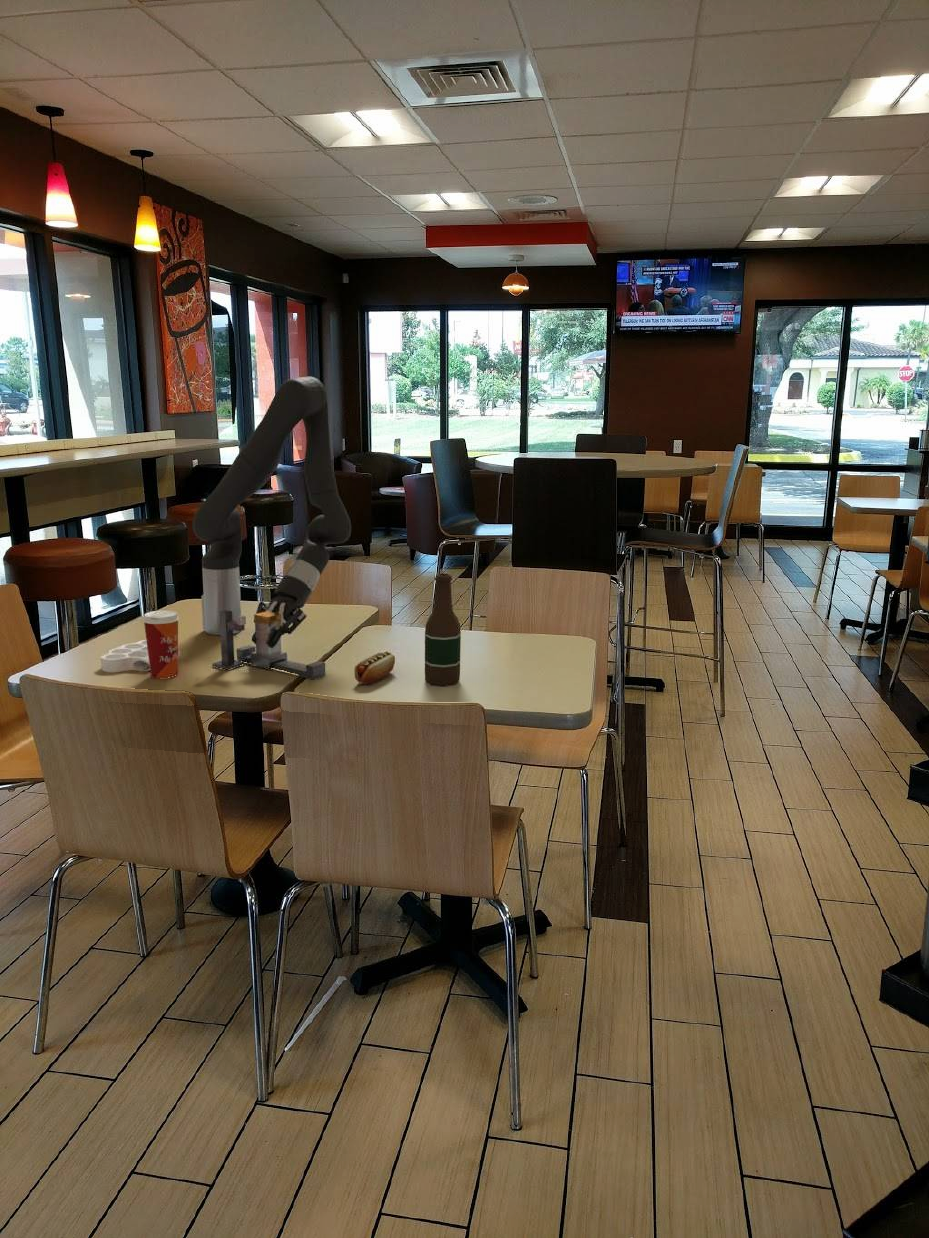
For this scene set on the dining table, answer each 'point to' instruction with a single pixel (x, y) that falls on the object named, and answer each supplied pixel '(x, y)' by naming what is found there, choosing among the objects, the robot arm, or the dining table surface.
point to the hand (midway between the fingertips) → (262, 644)
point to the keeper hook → (229, 639)
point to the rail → (286, 664)
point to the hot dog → (374, 668)
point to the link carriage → (263, 630)
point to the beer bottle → (442, 638)
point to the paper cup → (162, 642)
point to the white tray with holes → (127, 658)
